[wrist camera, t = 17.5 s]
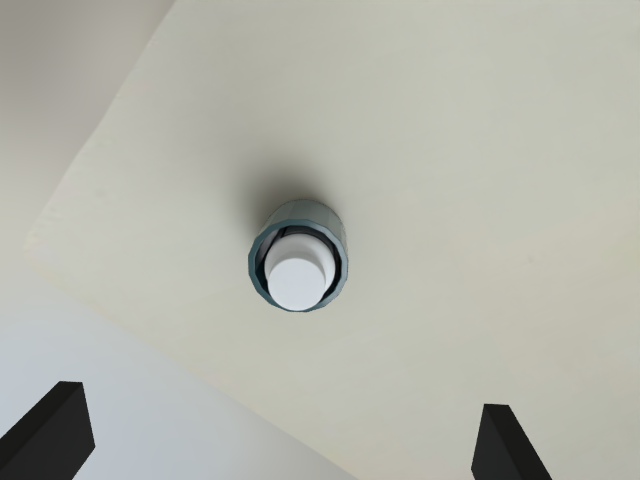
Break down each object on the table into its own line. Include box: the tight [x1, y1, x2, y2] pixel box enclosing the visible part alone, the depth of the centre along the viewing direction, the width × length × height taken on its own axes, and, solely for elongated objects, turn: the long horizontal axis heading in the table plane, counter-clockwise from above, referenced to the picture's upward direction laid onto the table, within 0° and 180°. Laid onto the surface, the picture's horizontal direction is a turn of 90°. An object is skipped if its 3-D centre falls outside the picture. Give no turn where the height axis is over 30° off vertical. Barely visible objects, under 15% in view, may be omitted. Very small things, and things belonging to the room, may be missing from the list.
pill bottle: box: [265, 225, 335, 311], centre depth 31 cm, size 5×5×10 cm
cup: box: [248, 200, 348, 312], centre depth 33 cm, size 8×8×7 cm
